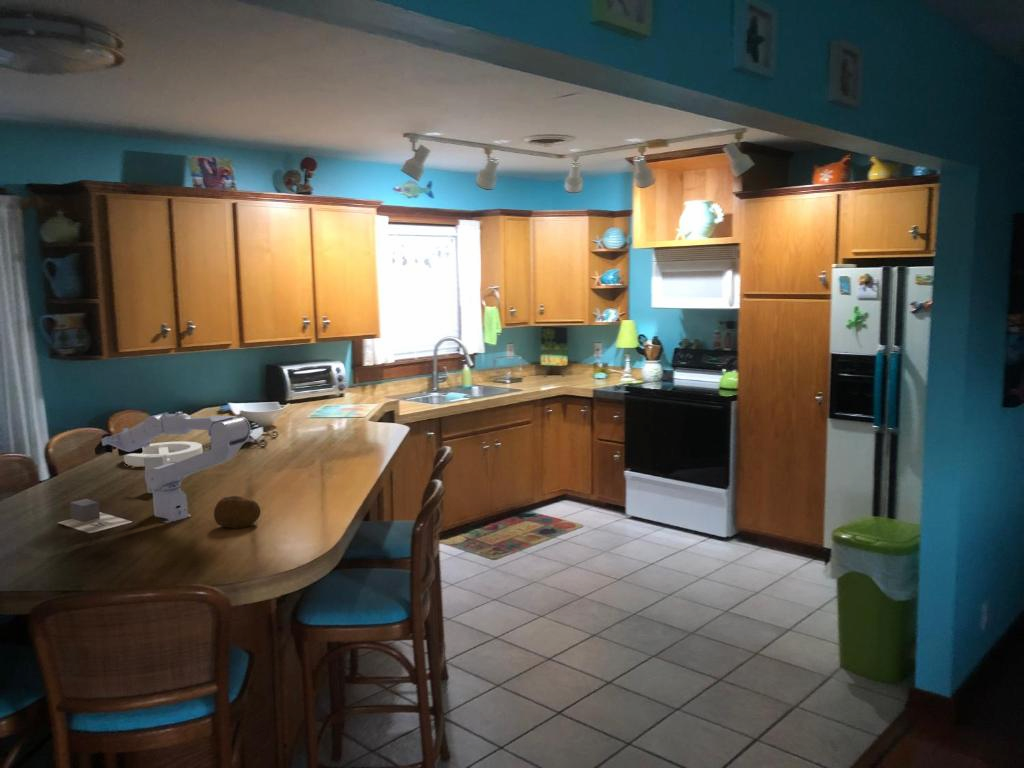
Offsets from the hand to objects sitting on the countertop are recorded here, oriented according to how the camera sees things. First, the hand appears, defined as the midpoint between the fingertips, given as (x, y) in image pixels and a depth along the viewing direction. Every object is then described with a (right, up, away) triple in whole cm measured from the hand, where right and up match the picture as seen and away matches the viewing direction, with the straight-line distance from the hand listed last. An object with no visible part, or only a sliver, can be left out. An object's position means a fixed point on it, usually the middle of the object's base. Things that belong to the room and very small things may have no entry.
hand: (107, 452), depth 234 cm
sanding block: (-1, -18, -10) cm, 21 cm away
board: (+3, -20, -12) cm, 24 cm away
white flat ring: (-15, -10, +73) cm, 75 cm away
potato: (+44, -20, -15) cm, 50 cm away
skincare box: (+4, -15, +24) cm, 29 cm away
